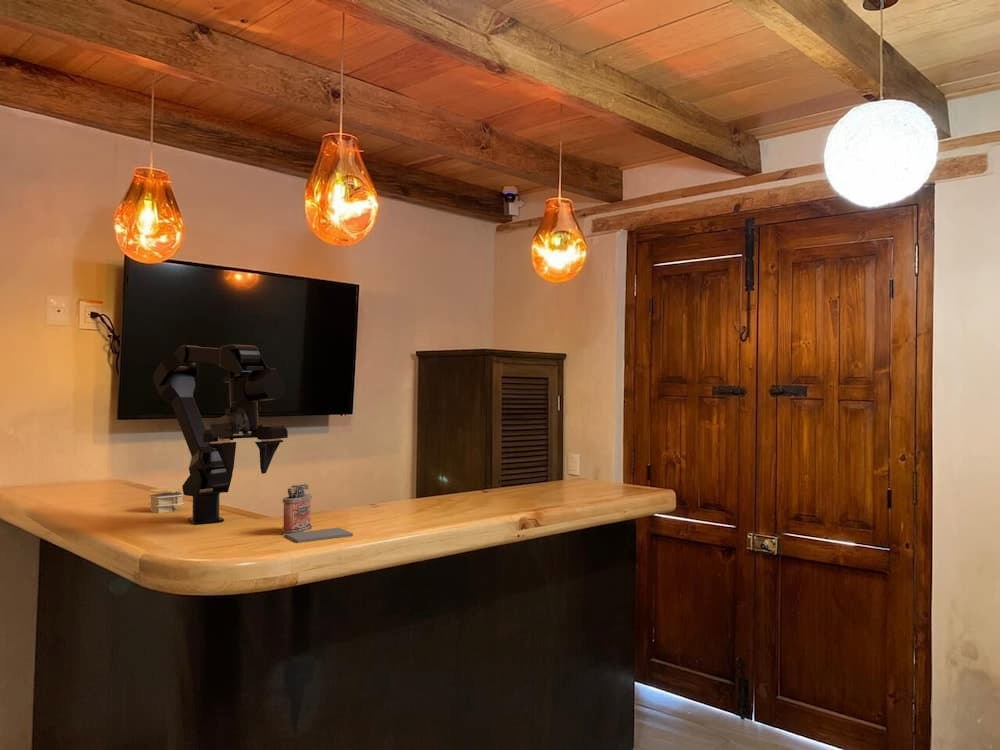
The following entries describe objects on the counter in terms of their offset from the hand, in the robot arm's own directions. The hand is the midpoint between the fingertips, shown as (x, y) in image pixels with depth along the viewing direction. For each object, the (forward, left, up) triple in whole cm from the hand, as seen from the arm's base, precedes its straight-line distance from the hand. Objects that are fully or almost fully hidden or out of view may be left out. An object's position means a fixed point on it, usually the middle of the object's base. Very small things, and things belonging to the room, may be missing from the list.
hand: (246, 473), depth 163 cm
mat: (+16, +10, -12) cm, 22 cm away
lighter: (+9, +8, -12) cm, 17 cm away
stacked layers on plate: (-32, -9, -12) cm, 36 cm away
